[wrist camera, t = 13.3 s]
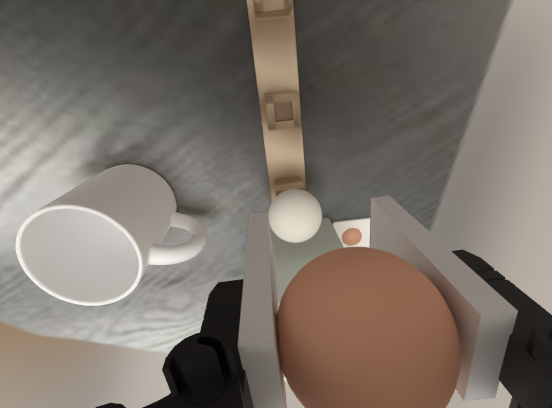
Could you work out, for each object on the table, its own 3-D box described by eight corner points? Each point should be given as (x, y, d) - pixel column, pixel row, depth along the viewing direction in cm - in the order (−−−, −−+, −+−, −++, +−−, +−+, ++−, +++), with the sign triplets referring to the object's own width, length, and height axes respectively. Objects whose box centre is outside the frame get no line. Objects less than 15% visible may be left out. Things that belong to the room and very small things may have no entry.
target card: (332, 221, 32) (333, 223, 31) (369, 217, 32) (370, 218, 31) (334, 274, 35) (335, 276, 34) (367, 269, 35) (368, 271, 34)
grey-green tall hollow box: (253, 226, 31) (250, 306, 20) (328, 217, 32) (366, 292, 21) (262, 286, 35) (264, 383, 24) (331, 278, 35) (364, 371, 24)
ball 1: (264, 184, 25) (265, 205, 21) (315, 178, 25) (326, 198, 21) (270, 229, 27) (272, 256, 23) (317, 223, 27) (328, 249, 23)
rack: (243, -26, 23) (240, -48, 19) (289, -31, 23) (296, -54, 19) (272, 207, 31) (274, 227, 27) (306, 203, 31) (313, 222, 27)
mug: (221, 180, 29) (203, 229, 20) (208, 249, 32) (188, 320, 23) (94, 153, 27) (8, 193, 18) (93, 229, 31) (20, 297, 21)
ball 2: (263, 229, 9) (265, 357, 5) (409, 210, 9) (539, 322, 5) (280, 336, 10) (292, 499, 6) (402, 321, 10) (492, 473, 6)
